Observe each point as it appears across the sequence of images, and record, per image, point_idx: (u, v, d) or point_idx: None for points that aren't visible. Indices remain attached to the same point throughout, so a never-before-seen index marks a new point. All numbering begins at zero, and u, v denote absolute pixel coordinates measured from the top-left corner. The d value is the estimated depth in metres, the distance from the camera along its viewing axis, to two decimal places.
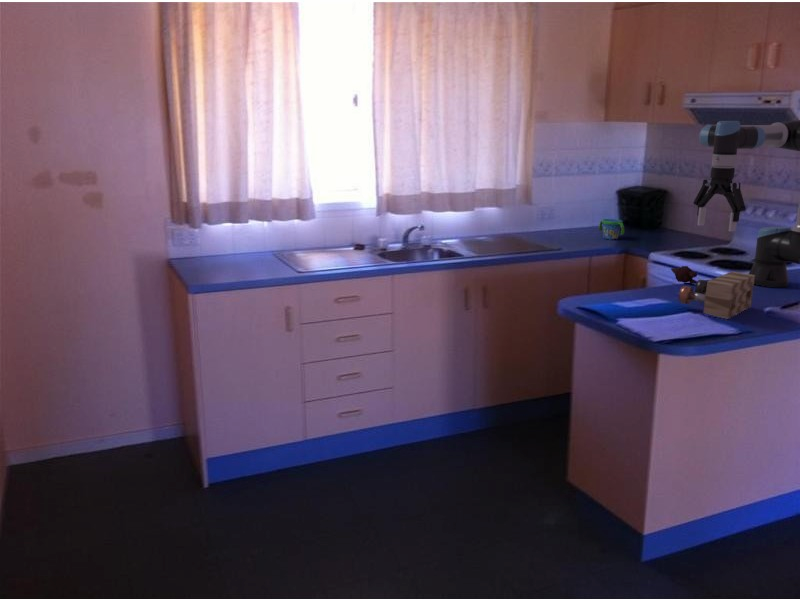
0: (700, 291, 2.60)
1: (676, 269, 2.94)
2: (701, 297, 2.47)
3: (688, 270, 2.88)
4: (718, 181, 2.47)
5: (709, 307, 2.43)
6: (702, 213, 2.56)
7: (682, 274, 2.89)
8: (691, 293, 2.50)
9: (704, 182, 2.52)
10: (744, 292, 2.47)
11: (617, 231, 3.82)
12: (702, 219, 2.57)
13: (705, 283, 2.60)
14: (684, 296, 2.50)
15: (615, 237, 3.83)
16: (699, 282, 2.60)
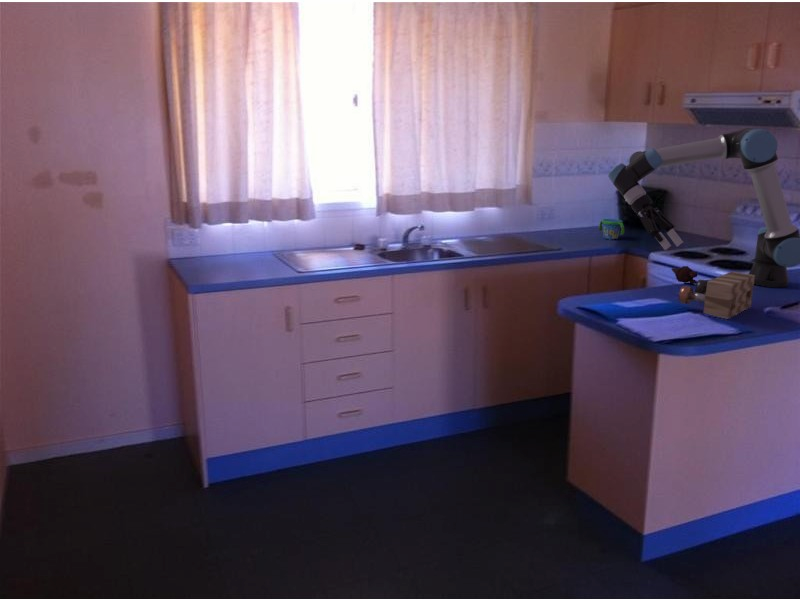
0: (700, 291, 2.60)
1: (677, 269, 2.94)
2: (701, 297, 2.47)
3: (688, 270, 2.88)
4: None
5: (709, 307, 2.43)
6: (671, 236, 2.71)
7: (682, 274, 2.88)
8: (691, 293, 2.50)
9: None
10: (744, 292, 2.47)
11: (617, 231, 3.82)
12: (676, 239, 2.70)
13: (705, 283, 2.60)
14: (684, 296, 2.50)
15: (615, 237, 3.83)
16: (699, 282, 2.60)
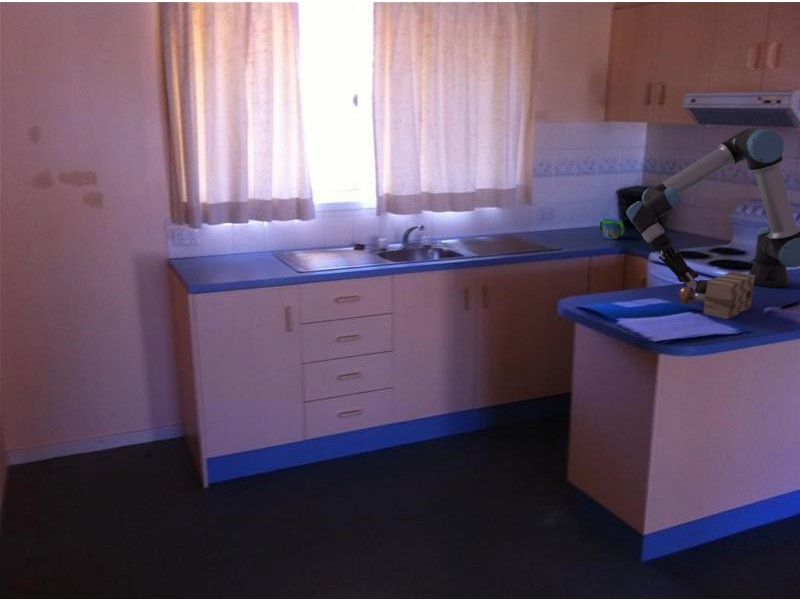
0: (701, 291, 2.59)
1: None
2: (701, 297, 2.47)
3: (690, 270, 2.88)
4: None
5: (709, 307, 2.43)
6: None
7: None
8: (691, 293, 2.50)
9: None
10: (744, 292, 2.47)
11: (617, 231, 3.82)
12: None
13: (706, 283, 2.60)
14: (684, 296, 2.50)
15: (615, 237, 3.83)
16: (700, 282, 2.60)
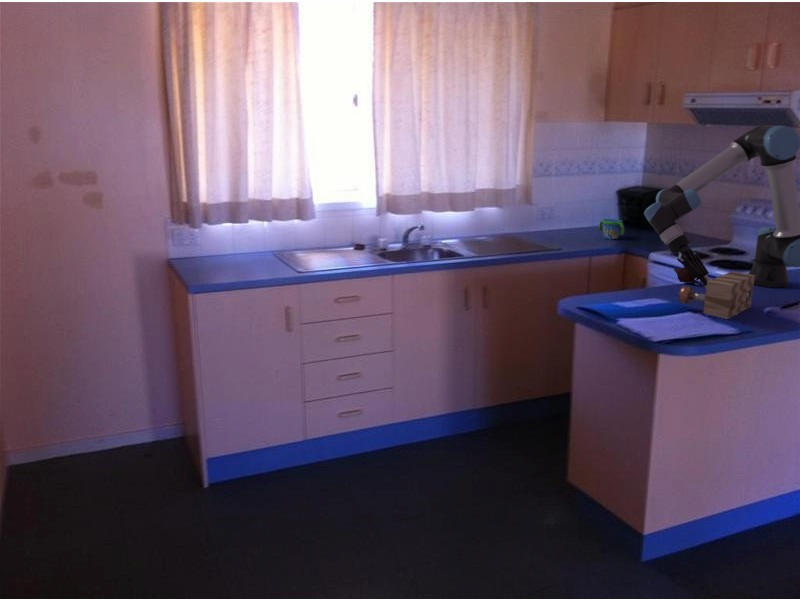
0: None
1: (678, 269, 2.93)
2: (701, 297, 2.47)
3: None
4: None
5: (709, 307, 2.43)
6: None
7: (684, 274, 2.88)
8: (691, 293, 2.50)
9: None
10: (744, 292, 2.47)
11: (617, 231, 3.82)
12: None
13: None
14: (684, 296, 2.50)
15: (615, 237, 3.83)
16: None
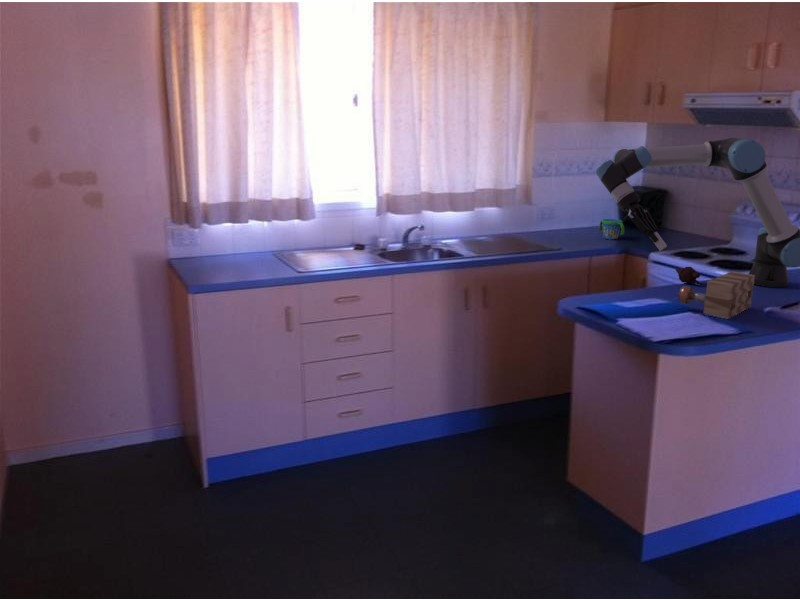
0: None
1: (680, 270, 2.93)
2: (701, 297, 2.47)
3: (691, 271, 2.87)
4: None
5: (709, 307, 2.43)
6: None
7: (685, 275, 2.88)
8: (691, 293, 2.50)
9: None
10: (744, 292, 2.47)
11: (617, 231, 3.82)
12: None
13: None
14: (684, 296, 2.50)
15: (615, 237, 3.83)
16: None
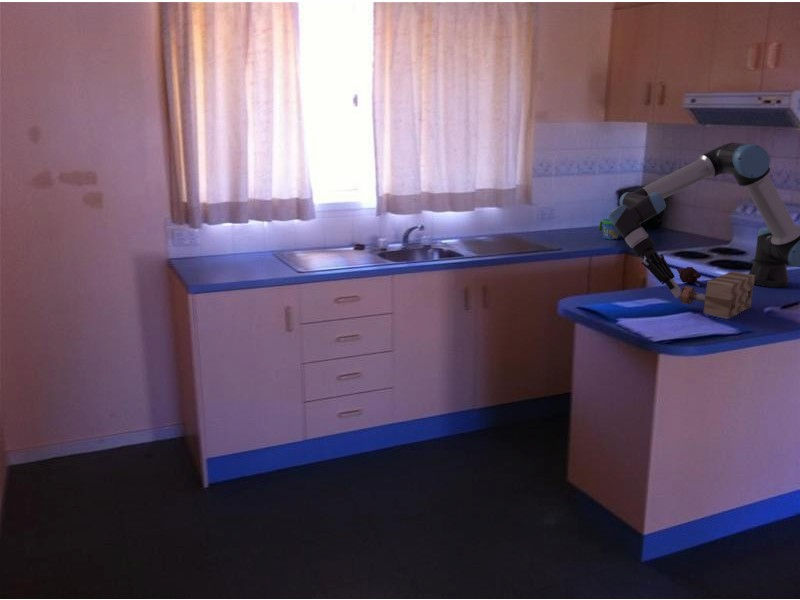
0: None
1: (681, 270, 2.92)
2: (702, 297, 2.47)
3: (692, 271, 2.87)
4: None
5: (709, 307, 2.43)
6: None
7: (686, 275, 2.87)
8: (692, 293, 2.50)
9: None
10: (744, 292, 2.47)
11: (617, 231, 3.82)
12: None
13: None
14: (685, 296, 2.49)
15: (615, 237, 3.83)
16: None
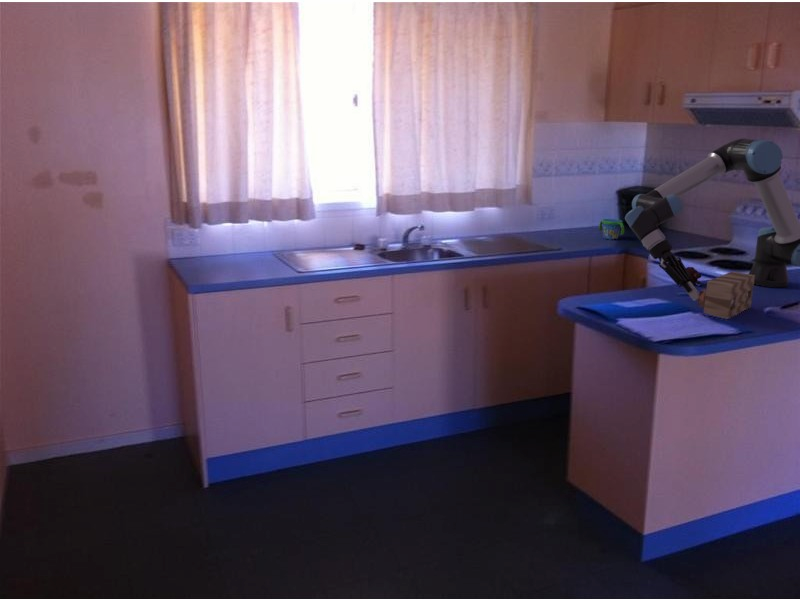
0: None
1: None
2: None
3: (693, 271, 2.87)
4: None
5: (709, 307, 2.43)
6: None
7: None
8: None
9: None
10: (744, 292, 2.47)
11: (617, 231, 3.82)
12: None
13: None
14: (703, 300, 2.45)
15: (615, 237, 3.83)
16: None
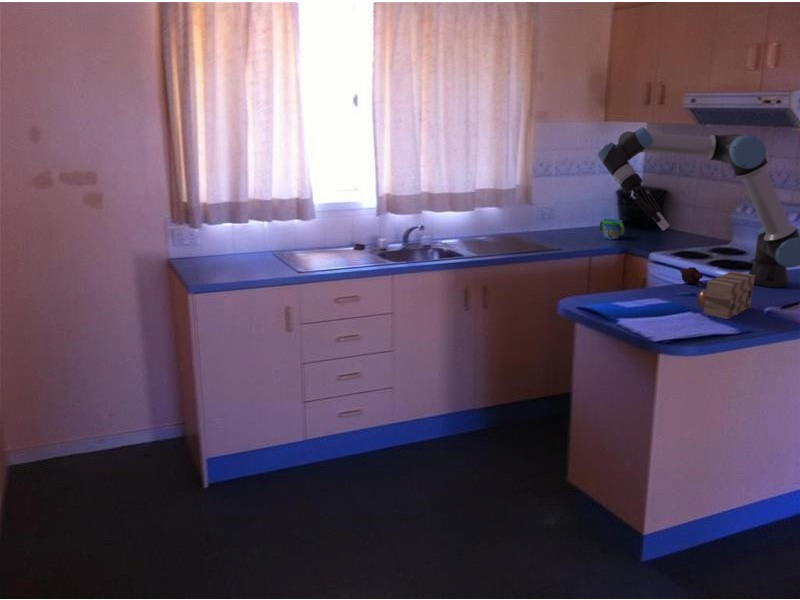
0: None
1: (684, 270, 2.92)
2: None
3: (694, 271, 2.86)
4: None
5: (709, 307, 2.43)
6: None
7: (688, 275, 2.87)
8: None
9: None
10: (744, 292, 2.47)
11: (617, 231, 3.82)
12: None
13: None
14: (703, 300, 2.45)
15: (615, 237, 3.83)
16: None
